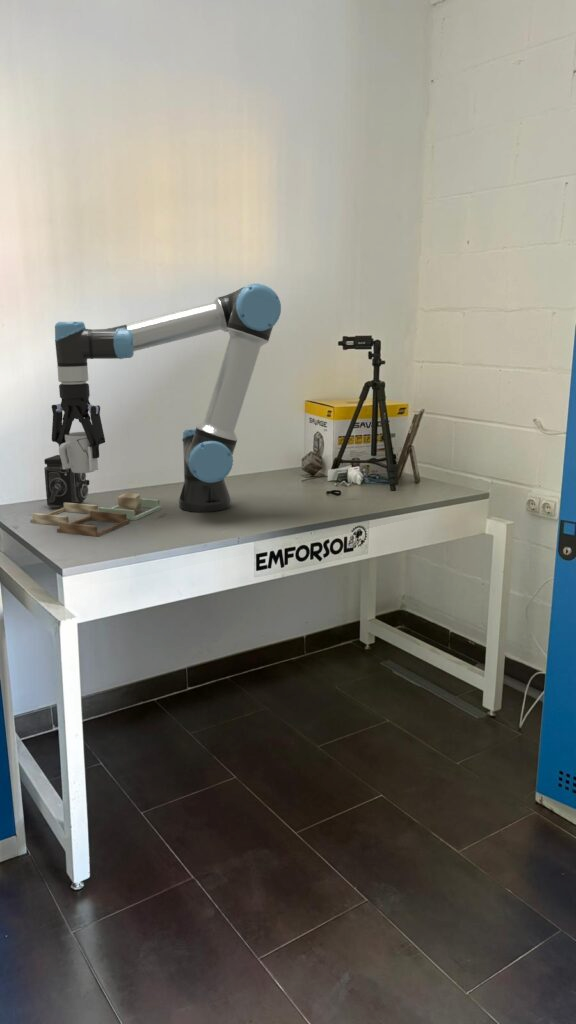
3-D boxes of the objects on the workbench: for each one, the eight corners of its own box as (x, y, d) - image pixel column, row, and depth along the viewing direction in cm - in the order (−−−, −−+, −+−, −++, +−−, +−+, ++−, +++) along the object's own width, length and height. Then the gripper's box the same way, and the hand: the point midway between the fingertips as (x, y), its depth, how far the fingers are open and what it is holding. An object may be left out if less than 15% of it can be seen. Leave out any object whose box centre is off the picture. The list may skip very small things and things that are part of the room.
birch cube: (140, 510, 223) (140, 493, 222) (136, 514, 218) (135, 497, 217) (124, 510, 224) (123, 493, 223) (118, 514, 219) (117, 497, 218)
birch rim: (100, 514, 219) (100, 505, 218) (69, 526, 206) (69, 517, 205) (63, 510, 223) (62, 502, 223) (30, 522, 210) (29, 513, 209)
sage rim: (161, 508, 226) (161, 500, 225) (135, 520, 212) (135, 511, 212) (124, 505, 230) (124, 496, 229) (96, 516, 217) (96, 507, 216)
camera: (78, 511, 223) (75, 460, 219) (45, 509, 225) (41, 458, 221) (94, 503, 232) (91, 454, 229) (62, 501, 234) (58, 452, 231)
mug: (72, 477, 198) (69, 438, 196) (51, 473, 203) (48, 435, 201) (106, 470, 207) (104, 433, 205) (85, 466, 212) (83, 430, 210)
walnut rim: (129, 523, 209) (128, 514, 209) (98, 536, 196) (98, 527, 195) (89, 519, 213) (89, 510, 213) (57, 532, 200) (56, 522, 200)
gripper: (116, 382, 199) (121, 469, 204) (50, 381, 207) (57, 464, 212) (98, 384, 192) (104, 474, 198) (31, 383, 200) (39, 469, 205)
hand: (80, 469), depth 205 cm, fingers closed on mug, 8 cm apart
